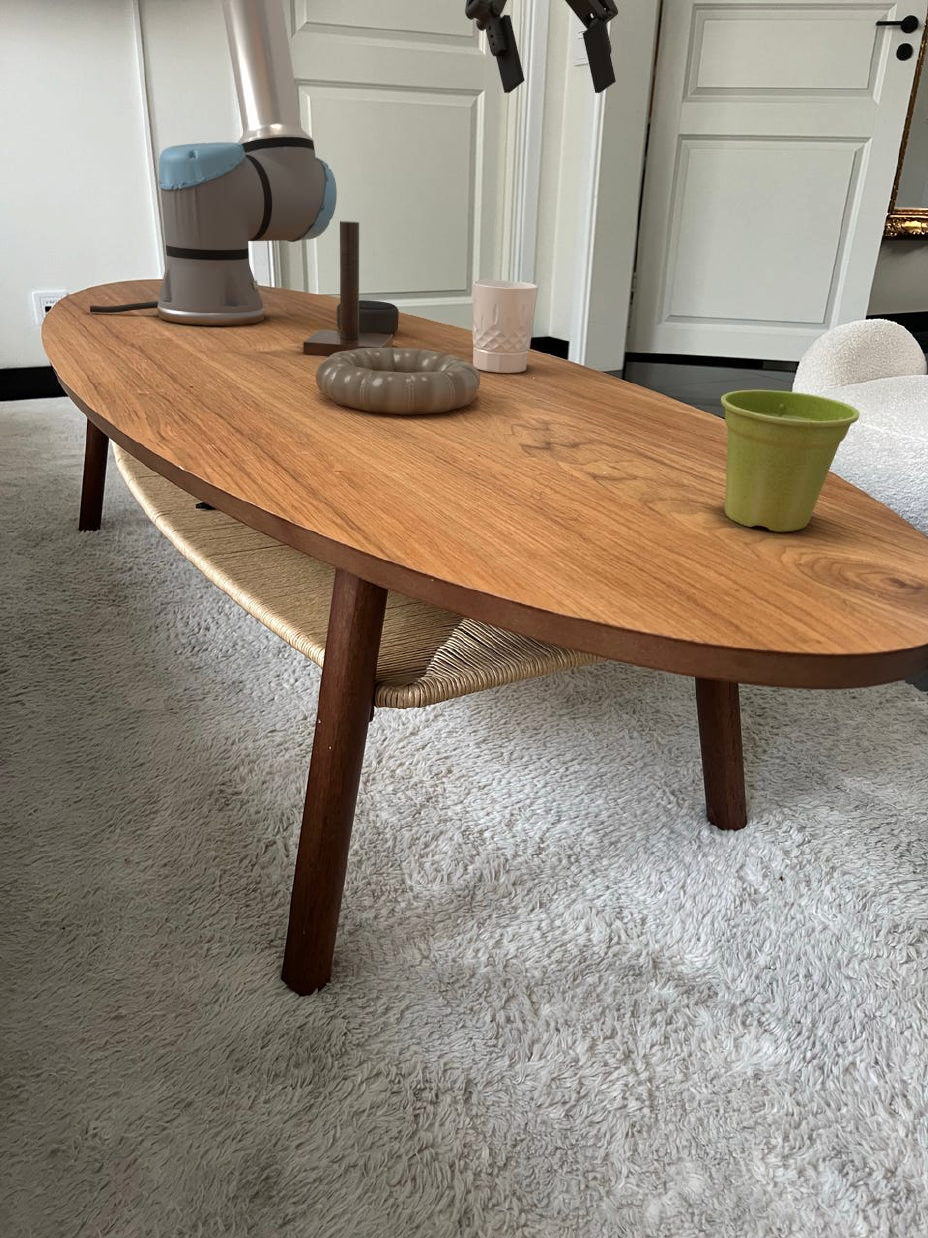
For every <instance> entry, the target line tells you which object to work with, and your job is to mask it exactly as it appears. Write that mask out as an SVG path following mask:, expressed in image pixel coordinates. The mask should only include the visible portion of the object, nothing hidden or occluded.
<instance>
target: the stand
mask: <svg viewBox="0 0 928 1238" xmlns="http://www.w3.org/2000/svg"><path fill="white" fill-rule="evenodd" d="M359 300H360V221H353V220H340V221H339V304H340V330H334V329H333V330H332V329H319V330H318V331H316V332H315V333H314V334H312V335H311V336H310V337H308V338H306V339H305V340H304V341H303V342H302V345H303V347H302V348H303V349H302V352H303V354H304V355H314V356H328V357H329V356H330V355H332V354H334V353H337V352H342V351H348V350H353V349H359V348H390V347H391V348H392V347H393V345H394V334H376V333H362V332H359Z"/></svg>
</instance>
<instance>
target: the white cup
mask: <svg viewBox="0 0 928 1238" xmlns="http://www.w3.org/2000/svg"><path fill="white" fill-rule="evenodd" d="M538 290H539V286H538V285H537V284H534V283H529V282H523V281H517V280H516V281H515V280H501V279H481V280H474V281H473V282H472V317H471V319H472V323H471V326H472V329H471V331H472V334H471V335H472V345H473V347H472V349H473V350H472V354H473V355H472V364H473V365H474V366H475V367H476V369H477V370H478V371H479V370H480V371H484V372H490V373H498V374H517V373H521V372H525V371H526V370H527V363H528V353H529V349H530V348H531V341H532V335H533V327H534V322H535V314H536V306H537V299H538V298H537V297H538Z"/></svg>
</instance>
